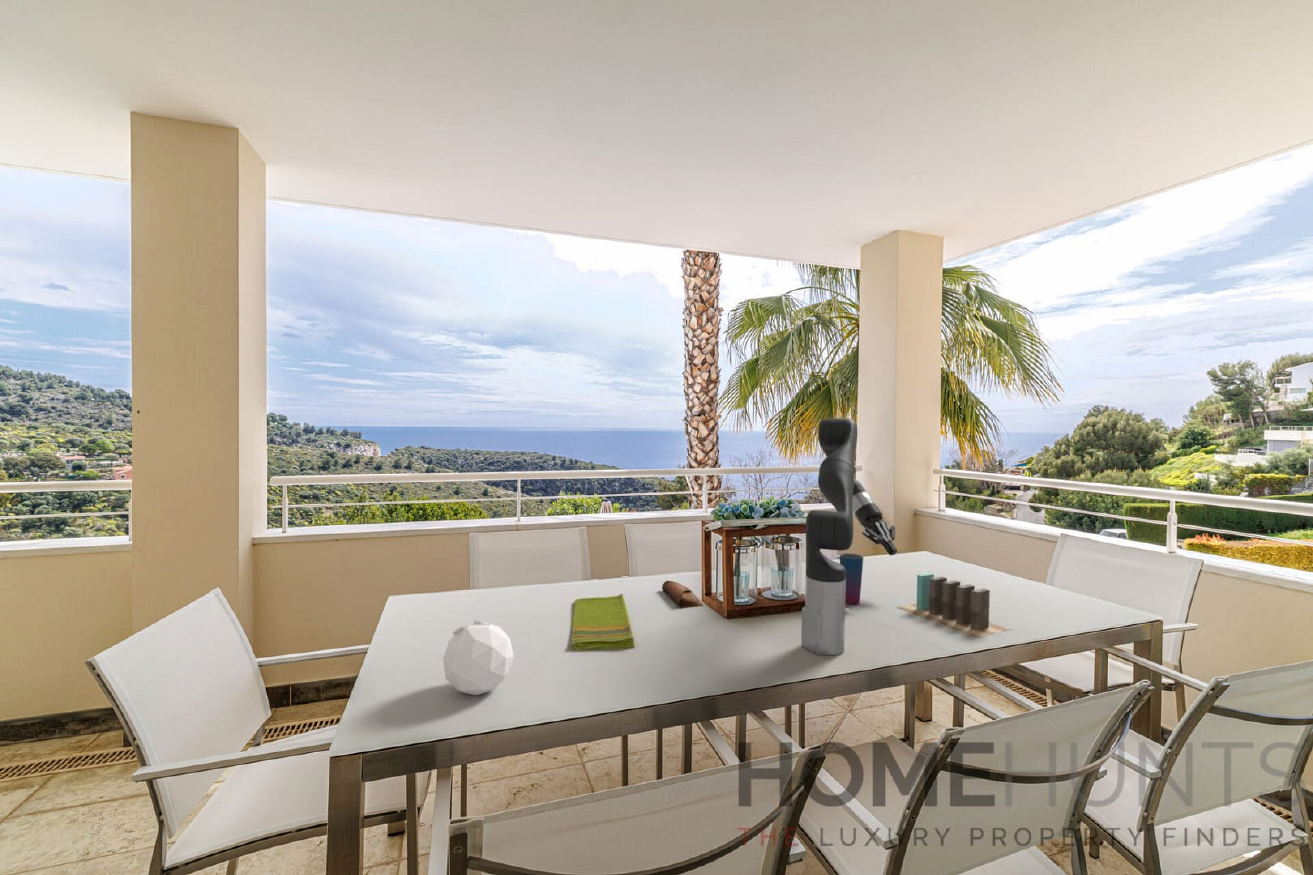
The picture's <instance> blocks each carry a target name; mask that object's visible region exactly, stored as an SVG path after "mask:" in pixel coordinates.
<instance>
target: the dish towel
mask: <svg viewBox="0 0 1313 875" xmlns="http://www.w3.org/2000/svg"><path fill="white" fill-rule="evenodd" d="M572 616H573V620H572V630H571V636H570V637H571V638H570V649H571V650H572V651H587V650H588V651H591V650H592V651H593V650H594V651H596V650H619V649H620V650H624V649H634V648H635V640H634V638H635V637H634V635H633V632H632V631H633V630H632V627H631V626H632V625H631V622H630V616H629V612H628V609H627V606H626V601H625V598H624V595H623V593H620V594H619V595H616V596H615V595H613V596H606V597H604V596H603V597H582V598H577V599H576V600H574V602H573V615H572Z"/></svg>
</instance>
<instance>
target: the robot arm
mask: <svg viewBox="0 0 1313 875" xmlns="http://www.w3.org/2000/svg"><path fill="white" fill-rule="evenodd" d="M817 429H818V431H817V434H818V435H817V437H818V438H817V439H818V443H819V446H820V448H821V450H822V452H823V453H824V455H826V457H825V458H824V459H823V460H822V462H821V463H820V466H819V469H818V476H817V486H818V488H819V491H820V492H821V494H822V495H823V497H825V499H827V501H828V502H829V503H830V504H831V505H832V506H833V507H834V509H835V510H836V511H832V510H818V509H813V510H810V511H808V513H807V515H806V520H805V544H806V549H805V550H806V564H805V566H806V568H805V600H804V601H805V603H804V604H805V605H804V606H803V607H802V608H801V637H800V638H801V641H800V642H801V643H800V646H801V647H803V648H805V649H806V650H809V651H810V652H811V653H814V654H815V655H816V656H817V655H818V656H821V655H825V656H826V655H827V656H835V655H836V656H837V655H841V654H843V653H844V652H845V636H846V635H845V631H846V630H845V629H846V624H845V623H846V607H845V606H846V604H845V591H846V569H845V567H844V566H843V565H841V564H840V562H837V561H834V560H832V559H830V558H828V557H827V556H826V555H825V554H823V553H822V551H821V550H827V551H839V552H840V551H848V550H849V549H851V547H852V544H853V540H854V516H855V518H856V520H858V522H859V524H860V525H861V526H862V527H864V530H863V531H862V532H861V534H862V535H863V536H864V537H866V538H867V539H869V541H872V543H874V544H875V545H877V546H878V545H880V546H882V547H883V548H884V550H885V551H886V552H887V553H888V555H889V556H895V555H897V553H898V549H897V548H896V546H895V544H894V543H893V541H895V540H896V526H895V525H892V526H890V525H888V523H887V522H886V521H885V520H884V519H883V513H882V512H881V510H880V508H879V507H878V506H877V504H876V502H875V500H873V498H872V496H870V494H868V492H867V491H866V489H865V488H864V486H863V485H862V483H861V482H860V480H856V479H855V474H856V473H857V468H856V465H855V457H856V448H857V442H858V426H857V423H856V421H855V420H854V419H852V418H846V417H845V418H843V417H842V418H841V417H840V418H839V417H838V418H837V417H833V418H831V417H830V418H823V419H822V420H820V422H819V424H818V428H817Z"/></svg>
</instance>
